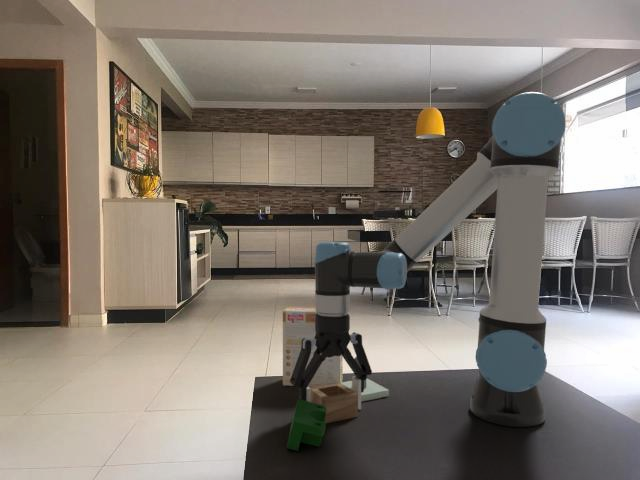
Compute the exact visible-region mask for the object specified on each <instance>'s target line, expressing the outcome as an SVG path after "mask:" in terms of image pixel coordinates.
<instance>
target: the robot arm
mask: <svg viewBox="0 0 640 480" xmlns="http://www.w3.org/2000/svg"><path fill="white" fill-rule="evenodd" d="M565 131H566V117H565V112H564V111H563V108H562V106H561V105H560V104H559V102H558V101H556V100H555V98H553V97H551V96H550V95H547V94H545V93H542V92H538V91H537V92H536V91H529V92H528V91H527V92H523V93H519V94H517V95H513V96H512V97H510V98H508V99H507V100H506V101H504V103H502V105H501V106H500V108H499V109H498V110H497V111H496V113H495V115H494V118H493V119H492V125H491V132H492V136H491V137H490V138H489V140H488V142H487V143H486V144H485V145H484V146H483V147H482V148H481V149H480V150H479V151H478V152H477V154H476V161H475V162H473V164H471V165H470V166H469V167H467V169H466V170H465V171H464V172H463V173H462V174H461V175H460V176H459V177H458V178H457V179H456V180H455V181H454V182H453V183H451V184H450V185H449V186H448V188H446V189H445V191H443V192H442V193H441V194H440V195H439V196H438V197H437V198H436V199H435V200H433V201H432V202H431V204H430V205H429V206H428V207H426V209H424V210H423V211H422V212H421V213H420V214H419V215H418V216H417V217H416V218H415V219H414V220H413V221H412V222H411V223H410V224H409V225H408V226H406V228H405V229H403V230H402V231H401V232H400V234H398V235H397V237H395V238H394V239H393V240H392V241H391V242H390V243H389V244H388V245H387V246H386V247H385V248H384V249H383V250H380V251H375V252H374V251H370V252H369V251H365V252H364V251H361V252H360V251H359V252H358V251H352V250H351V245H350V243H348V242H346V241H345V242H342V241H341V242H340V241H329V242H326V241H324V242H319V243H318V244H317V245H316V247H315V259H314V275H315V276H314V278H315V279H314V280H315V281H314V282H315V290H314V291H315V292H314V293H315V294H314V296H315V297H314V299H315V301H314V307H315V311H316V312H318V313H317V314H316V315H315V331H316V335H315V338H314V339H306V338H303V339H302V342H301V351H300V354H299V357H298V360H297V362H296V365H295V368H294V371H293V374H292V376H291V379H290V383H291V384H292V385H294V386H293V387H295V388H298V399H301V400H305V401H308V402H311V388H310V387H308V385H309V383H310V382H311V380H312V378H313V377H314V375H315V373H316V372H317V370H318V368H319V367H320V365H321V363H322V362H323V361H324V360H325V359H326V357H328V358H329V357H333V356H341V355H342V356H343V360H344V361H345V362H346V364H347V365H348V366H349V368H350V369H351V371H352V372H353V375H354V374H355V375H356V377H354V376H351V381H352V390H353V391H355V392H356V393H358V410H361V409H362V402H361V393H362V392H363V391H364V380H366V379H368V376H370V375H371V376H372V374H373V371H372V368H371V365H370V362H369V360H368V356H367V354H366V351H365V348H364V346H363V336H362V335H363V334H360V333H358V332H355V331H354V332H352V333H351V334H350V329H351V328H350V327H351V325H350V323H351V322H350V321H351V320H350V319H351V317H350V315H349V312H350V311H351V305H350V304H351V303H350V302H351V300H350V299H351V298H350V297H351V296H350V293H351V291H350V290H351V289H350V288H368V289H369V288H370V289H383V290H384V289H385V290H392V289H394V290H395V289H396V290H398V289H402V288H404V287H405V285H406V282H407V279H408V275H407V274H408V272H409V271H410V270H412V268H413V267H415V266H416V264H417V263H419V261H420V260H422V259H423V258H424V257H425V256H426V255H427V254H428V253H429V252H430V251H432V250H433V248H435V247H436V246H437V245H438V244H439V243H440V242H441V241H442V240H443V239H444V238H446V237H447V236H448V235H449V234H450V233H451V232H452V231H453V230H454V229H455V228H457V227H458V226H459V224H461V223H462V222H463V221H464V220H465V219H466V218H467V217H469V215H471V214H472V213H473V212H474V211H475V210H476V209H477V208H478V207H480V205H482V203H484V201H486V200H487V199H488V198H489V197H490V196H491V195H492V194H493V193H495V191H496V202H495V203H496V204H495V206H496V207H495V219H494V220H495V221H494V230H493V231H494V233H493V246H492V258H491V259H492V261H491V262H492V263H491V273H490V275H491V276H490V286H489V287H490V288H489V289H490V290H489V301H488V304H487V305H485V307H482V308H481V309H480V310H479V317H478V318H477V319H478V324H479V325H478V338H477V347H476V351H475V363H476V366H477V367H478V368H477V369H478V375H477V379H476V382H475V385H474V387H473V392H472V394H471V396H470V405H469V406H470V407H469V409H470V412H471V413H472V414H473V415H474V416H475V417H477V418H479V419H481V420H483V421H485V422H489V423H491V424H494V425H495V424H496V425H499V426H506V427H513V428H528V427H529V428H530V427H535V426H538V425H541V424H542V423H544V422H545V420H546V408H545V405H544V403H543V401H542V397H541V393H540V390H539V387H538V385H539V383H540V382H541V381H542V379H543V378H544V376H545V372H546V370H547V365H548V362H547V361H548V360H547V356H546V352H545V346H546V345H545V341H546V328H547V318H546V317H545V316H544V314H542V312H541V311H540V309H539V304H540V303H539V301H540V291H541V290H540V288H541V278H542V277H541V274H542V264H543V263H542V262H543V261H542V260H543V250H544V239H545V238H544V236H545V235H544V234H545V224H546V213H547V198H548V185H549V180H550V179H551V177H553V176H554V175H555V174H557V173H558V171H559V163H560V152H561V141H562V138H563V136H564V133H565ZM349 343H351V344H352V348H353V350H354V353H355V355H356V356H357V359H358V361H359V364H360V367H361V368H360V367H359V365H358V364H357V362H356V361H355V359H354V358H355V357H356V356H355V357H354V356H353V355H352V352H351V351H350V349H349V348H348V345H349ZM314 345H316V347H317V349H316V350H315V352H314V354H313V358H312V359H311V361H310V363H309V364H308V366H307V368H306V365H307V363H308V360H309V357H310V354H311V350H312V349H313V346H314ZM320 354H321V355H320ZM305 368H306V369H305Z"/></svg>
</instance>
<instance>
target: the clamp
mask: <svg viewBox="0 0 640 480" xmlns="http://www.w3.org/2000/svg"><path fill="white" fill-rule="evenodd" d="M292 415H293V416H292V419H291V420H292V421H291V424H290V430H289V433H288V439H287V444H286V449H288V450H293V451H296V452H299V448H300V445H301V443H303V444H307V445H310V446H314V447H321V444H322V442H323V441H322V439H323V436H324V435H325V432H326V428H327V423H326V422H324V419H325V415H326V407H325V406H323V405H320V404H316V403H312V402H308V401H305V400H301V399H299V398H297V401H296V404H295V408H294V412H293V414H292Z"/></svg>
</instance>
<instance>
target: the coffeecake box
mask: <svg viewBox="0 0 640 480" xmlns="http://www.w3.org/2000/svg"><path fill="white" fill-rule="evenodd" d="M317 313H318V312H316V311H315V306H311V307H310V306H287V307H286V308H285V309H283V310H282V386H289V387H292V386H293V387H295V386H294V385H292V384H291V383H290V379H291V376H292V374H293V371H294V368H295V365H296V362H297V360H298V357H299V354H300V351H301V342H302V339H303V338H306V339H314V338H315V335H316V331H315V315H316V314H317ZM316 349H317V347H316V345H314V346H313V349H312V350H311V354H310V357H309V360H308V363H307V365H306V368H307V366H308V364H309V363H310V361H311V359H312V358H313V354H314V352H315V350H316ZM320 355H321V354H320ZM343 361H344V358H343V356H342V355H341V356H333V357H329V358H328V357H326V359H325V360H324V361H323V362H322V363H321V365H320V367H319V368H318V370H317V372H316V373H315V375H314V377H313V378H312V380H311V382H310V383H309V385H308V387H309V388H310V387H316V386H322V385H328V384H334V383H341V382H343V375H344V374H343V368H344V367H343ZM306 368H305V369H306Z"/></svg>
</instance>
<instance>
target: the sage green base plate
mask: <svg viewBox="0 0 640 480" xmlns="http://www.w3.org/2000/svg"><path fill="white" fill-rule="evenodd" d="M353 358H354V359H355V361H356V362H357V364H358V365H359V367H360V364H359V361H358V359H357V356H355V357H353ZM360 368H361V367H360ZM353 377H356V375H355V374H354V373H353ZM341 383H342V384H343V385H345V386H346V387H348V388H350V389H351V390H352V380H348V381H347V380H346V381H342V382H341ZM382 397H383V398H388V397H390V389H388V388H387V387H384V386H382V385H380V384H378V383H376V382H374V381H373V380H371V379H369V378H367V379H366V380H364V391H363V392H362V393H361V403H362V402H366V401H372V400H377V399H378V400H379V399H383V398H382Z"/></svg>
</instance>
